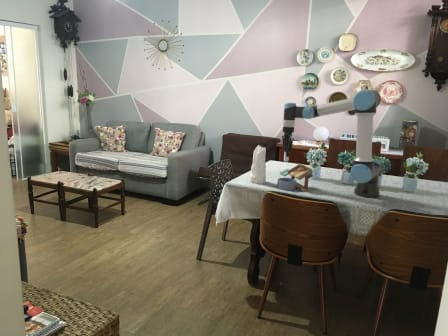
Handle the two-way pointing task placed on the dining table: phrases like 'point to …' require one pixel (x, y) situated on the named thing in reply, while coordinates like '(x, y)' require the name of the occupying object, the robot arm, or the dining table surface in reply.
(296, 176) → the tipping tray
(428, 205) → the dining table surface
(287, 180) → the grey round container
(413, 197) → the dining table surface
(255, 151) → the decorative vase
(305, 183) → the pivot stand
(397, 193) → the dining table surface
